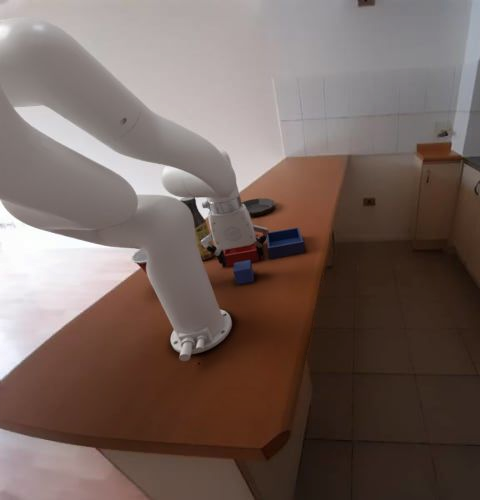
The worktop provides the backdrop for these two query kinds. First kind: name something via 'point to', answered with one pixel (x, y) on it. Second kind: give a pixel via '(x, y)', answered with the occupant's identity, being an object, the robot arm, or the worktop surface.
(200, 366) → the worktop surface
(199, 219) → the sauce bottle
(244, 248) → the red block
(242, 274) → the blue block
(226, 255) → the red bin
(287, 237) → the blue bin
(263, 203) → the frying pan
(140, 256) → the plastic cup
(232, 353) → the worktop surface
